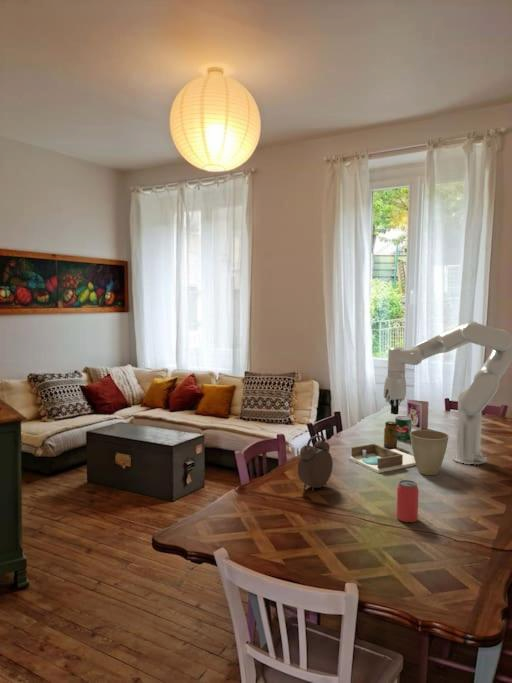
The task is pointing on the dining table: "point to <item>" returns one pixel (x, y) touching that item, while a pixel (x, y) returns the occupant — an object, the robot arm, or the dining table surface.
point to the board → (372, 459)
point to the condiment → (390, 436)
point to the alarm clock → (315, 463)
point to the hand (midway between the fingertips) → (394, 413)
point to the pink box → (418, 413)
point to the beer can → (407, 501)
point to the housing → (388, 456)
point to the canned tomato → (403, 428)
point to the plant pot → (428, 450)
